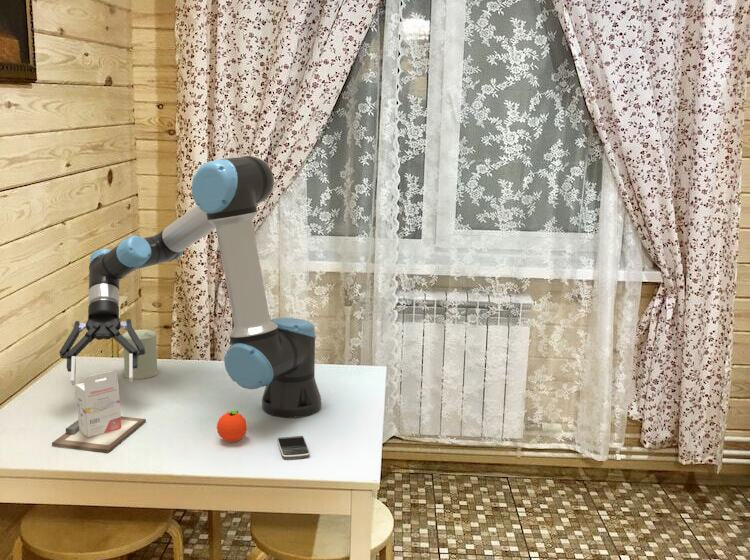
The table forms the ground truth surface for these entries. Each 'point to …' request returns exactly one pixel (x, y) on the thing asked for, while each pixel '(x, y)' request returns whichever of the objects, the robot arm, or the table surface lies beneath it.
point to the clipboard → (98, 436)
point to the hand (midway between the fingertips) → (102, 381)
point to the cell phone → (293, 447)
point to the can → (146, 361)
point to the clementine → (231, 426)
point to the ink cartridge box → (98, 404)
